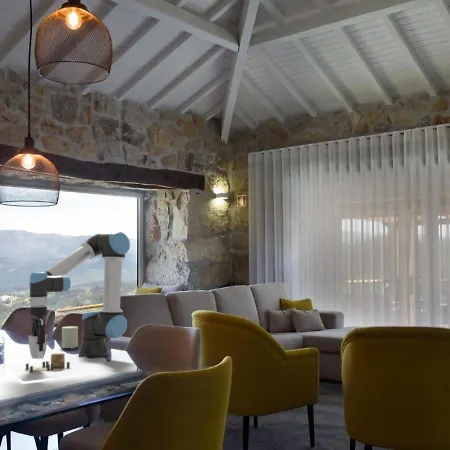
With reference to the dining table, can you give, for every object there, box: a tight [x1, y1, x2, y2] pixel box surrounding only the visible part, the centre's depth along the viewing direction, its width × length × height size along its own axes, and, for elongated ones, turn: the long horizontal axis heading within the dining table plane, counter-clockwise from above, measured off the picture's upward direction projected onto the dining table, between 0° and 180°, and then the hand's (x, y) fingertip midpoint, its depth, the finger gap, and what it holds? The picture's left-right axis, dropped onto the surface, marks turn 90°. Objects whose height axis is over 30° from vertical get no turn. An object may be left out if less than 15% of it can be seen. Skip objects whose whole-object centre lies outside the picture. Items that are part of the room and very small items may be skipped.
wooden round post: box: [50, 352, 66, 369], centre depth 257 cm, size 6×6×6 cm
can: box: [61, 325, 79, 349], centre depth 323 cm, size 9×9×12 cm
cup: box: [28, 333, 48, 360], centre depth 253 cm, size 8×8×10 cm
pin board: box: [24, 360, 73, 374], centre depth 255 cm, size 18×13×4 cm
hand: (37, 357), depth 252 cm, fingers closed on cup, 8 cm apart
